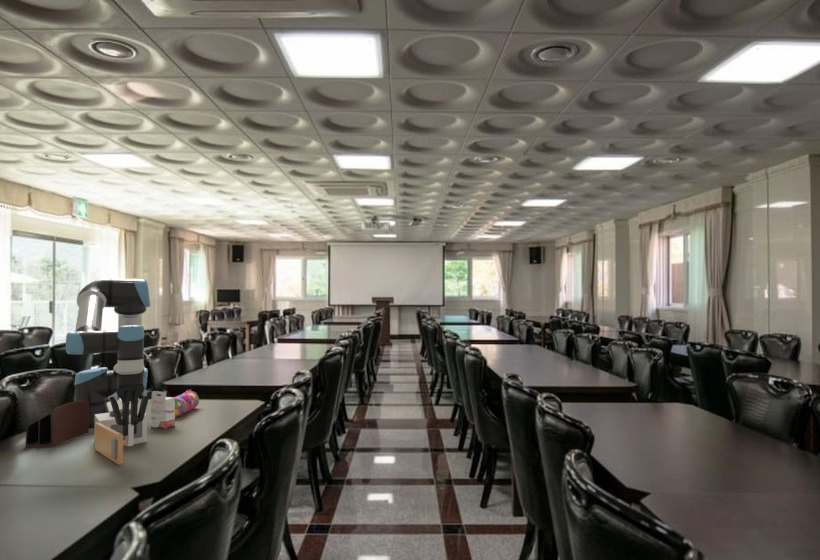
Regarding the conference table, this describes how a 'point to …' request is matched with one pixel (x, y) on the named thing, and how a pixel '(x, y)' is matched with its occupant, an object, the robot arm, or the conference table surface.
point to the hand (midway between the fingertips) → (129, 445)
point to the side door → (109, 443)
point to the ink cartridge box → (162, 410)
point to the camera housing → (110, 422)
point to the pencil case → (185, 402)
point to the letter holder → (59, 425)
